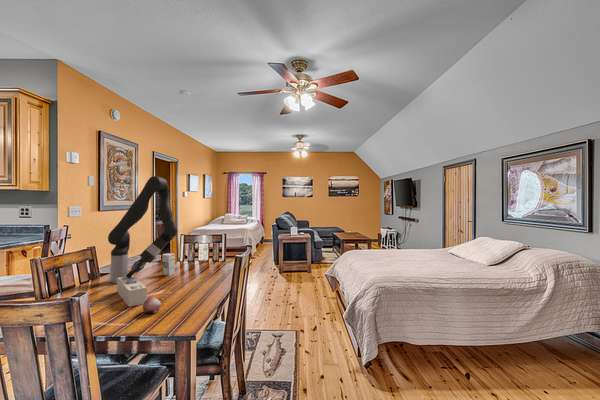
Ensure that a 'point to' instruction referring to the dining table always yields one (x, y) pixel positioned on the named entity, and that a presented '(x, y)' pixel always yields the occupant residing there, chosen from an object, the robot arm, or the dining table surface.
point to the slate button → (130, 281)
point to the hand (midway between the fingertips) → (127, 277)
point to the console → (131, 291)
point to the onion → (151, 305)
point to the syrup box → (168, 264)
